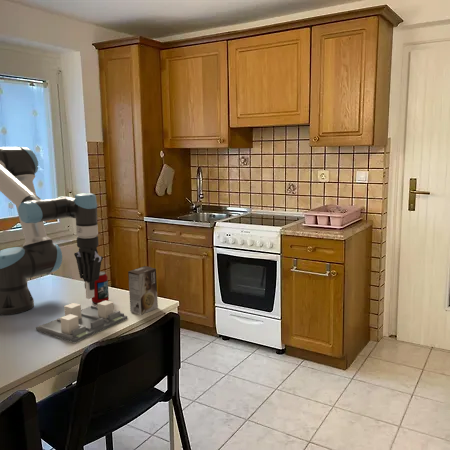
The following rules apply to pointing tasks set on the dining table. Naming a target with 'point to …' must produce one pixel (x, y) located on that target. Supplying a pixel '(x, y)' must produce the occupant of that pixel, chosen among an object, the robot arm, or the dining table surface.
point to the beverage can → (101, 288)
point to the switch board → (83, 325)
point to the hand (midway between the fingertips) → (90, 297)
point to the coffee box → (143, 290)
